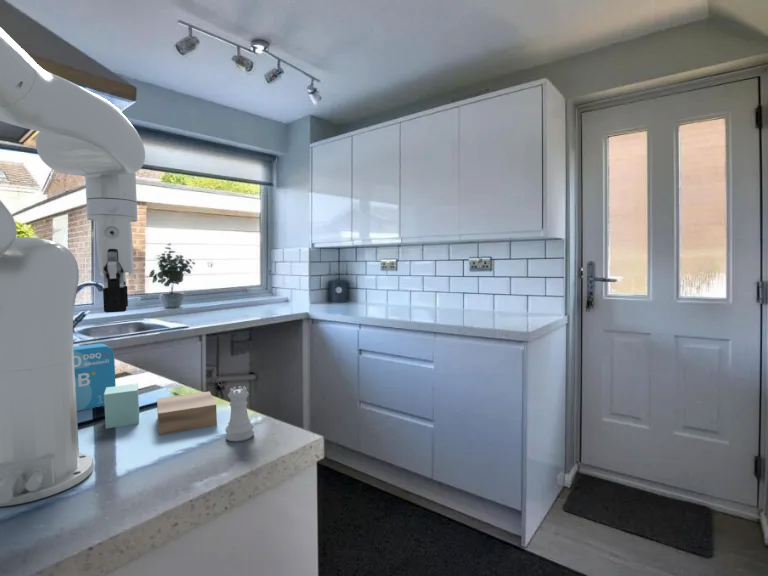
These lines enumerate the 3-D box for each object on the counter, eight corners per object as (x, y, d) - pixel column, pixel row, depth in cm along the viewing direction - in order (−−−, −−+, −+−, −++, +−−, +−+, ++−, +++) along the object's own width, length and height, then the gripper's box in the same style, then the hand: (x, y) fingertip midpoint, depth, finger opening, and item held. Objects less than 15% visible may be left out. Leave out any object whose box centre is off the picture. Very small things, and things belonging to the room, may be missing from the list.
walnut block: (216, 427, 77) (216, 404, 77) (159, 437, 73) (158, 413, 72) (210, 411, 85) (209, 391, 85) (157, 420, 81) (156, 398, 80)
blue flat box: (42, 418, 81) (38, 354, 80) (39, 412, 85) (35, 350, 84) (116, 403, 89) (113, 345, 89) (111, 398, 93) (108, 342, 92)
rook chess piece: (221, 436, 72) (219, 388, 71) (247, 429, 75) (246, 383, 74) (231, 445, 68) (229, 394, 68) (258, 437, 71) (257, 388, 71)
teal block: (138, 423, 78) (137, 390, 78) (105, 428, 76) (103, 394, 76) (139, 415, 83) (137, 383, 82) (107, 419, 80) (106, 387, 80)
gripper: (136, 207, 71) (140, 312, 72) (137, 218, 87) (141, 304, 87) (80, 204, 68) (85, 315, 69) (91, 216, 83) (96, 307, 84)
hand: (116, 309), depth 78 cm, fingers open, 9 cm apart
